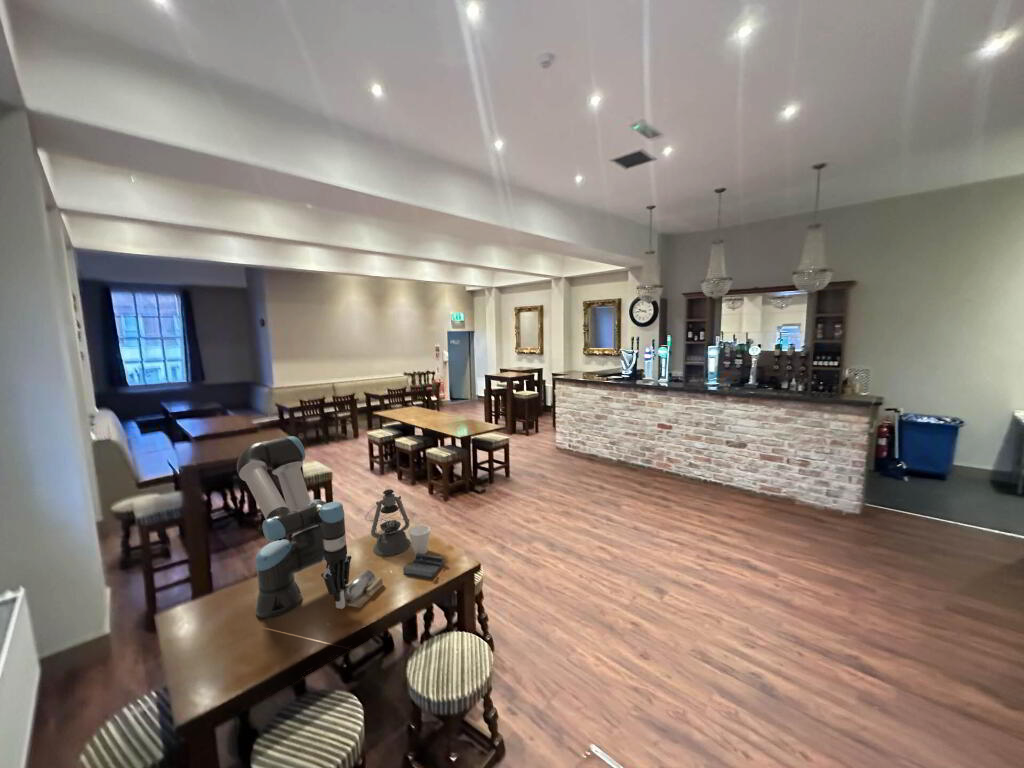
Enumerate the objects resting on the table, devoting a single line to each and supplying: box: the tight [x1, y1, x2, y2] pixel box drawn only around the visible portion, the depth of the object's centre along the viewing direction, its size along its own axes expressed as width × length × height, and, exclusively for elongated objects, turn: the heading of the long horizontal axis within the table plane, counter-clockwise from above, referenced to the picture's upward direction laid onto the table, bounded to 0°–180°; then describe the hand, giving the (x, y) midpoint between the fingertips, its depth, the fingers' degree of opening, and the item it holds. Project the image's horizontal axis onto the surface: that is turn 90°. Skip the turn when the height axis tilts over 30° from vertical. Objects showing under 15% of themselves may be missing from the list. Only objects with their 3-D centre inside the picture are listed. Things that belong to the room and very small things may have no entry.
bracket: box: [345, 573, 383, 609], centre depth 157 cm, size 11×14×4 cm
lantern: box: [364, 485, 412, 557], centre depth 191 cm, size 18×20×30 cm
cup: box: [407, 524, 431, 556], centre depth 186 cm, size 10×10×11 cm
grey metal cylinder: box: [344, 569, 376, 604], centre depth 157 cm, size 6×12×6 cm, turn 163°
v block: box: [402, 553, 445, 580], centre depth 172 cm, size 13×12×4 cm
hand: (340, 606), depth 147 cm, fingers closed
